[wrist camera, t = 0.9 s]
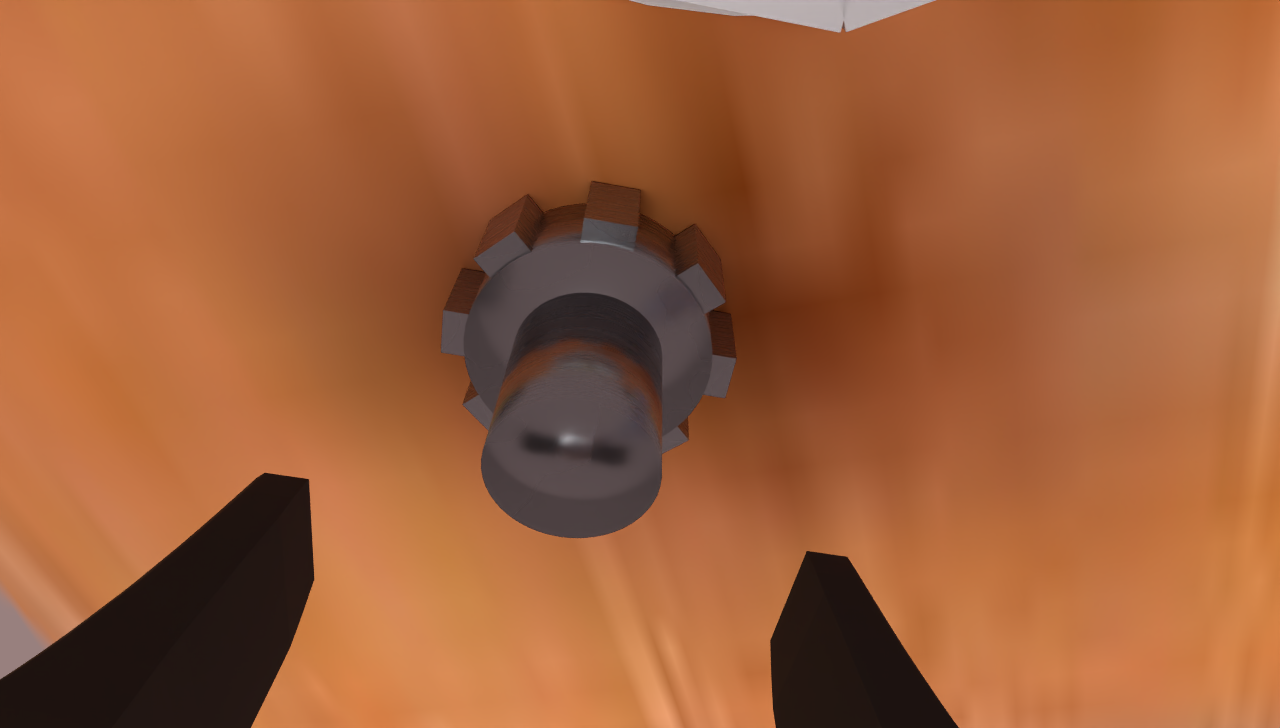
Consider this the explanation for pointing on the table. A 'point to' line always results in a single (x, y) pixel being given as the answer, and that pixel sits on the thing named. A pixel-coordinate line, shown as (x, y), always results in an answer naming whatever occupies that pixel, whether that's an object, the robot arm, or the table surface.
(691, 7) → the carrier
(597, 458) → the planet gear
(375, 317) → the table surface
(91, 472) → the table surface
